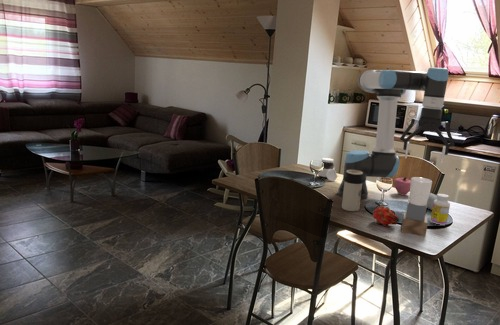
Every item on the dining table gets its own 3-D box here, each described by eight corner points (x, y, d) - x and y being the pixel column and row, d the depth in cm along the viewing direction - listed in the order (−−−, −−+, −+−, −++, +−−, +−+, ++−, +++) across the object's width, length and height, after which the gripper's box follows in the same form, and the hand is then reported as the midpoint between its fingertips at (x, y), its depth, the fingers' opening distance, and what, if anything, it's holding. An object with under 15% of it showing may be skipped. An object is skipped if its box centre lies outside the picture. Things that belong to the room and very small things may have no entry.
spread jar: (323, 175, 256) (325, 156, 254) (340, 179, 250) (342, 160, 248) (314, 178, 247) (316, 159, 244) (332, 182, 240) (334, 163, 238)
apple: (414, 195, 224) (417, 177, 222) (404, 197, 219) (407, 179, 217) (399, 191, 231) (401, 173, 229) (389, 192, 227) (391, 175, 224)
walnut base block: (401, 232, 169) (403, 218, 168) (401, 225, 178) (403, 212, 176) (425, 237, 166) (427, 222, 165) (424, 229, 175) (426, 215, 173)
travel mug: (338, 208, 195) (342, 170, 191) (347, 205, 200) (351, 168, 196) (353, 213, 189) (357, 174, 185) (362, 209, 195) (366, 172, 191)
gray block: (405, 218, 169) (407, 204, 167) (406, 213, 175) (408, 199, 174) (424, 221, 166) (426, 207, 165) (424, 216, 173) (426, 202, 171)
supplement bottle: (427, 219, 186) (432, 192, 184) (442, 221, 186) (447, 193, 183) (433, 225, 180) (438, 196, 177) (449, 226, 180) (454, 198, 177)
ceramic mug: (433, 213, 196) (435, 197, 194) (420, 207, 203) (423, 192, 202) (450, 212, 200) (453, 197, 198) (437, 207, 207) (440, 192, 205)
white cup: (408, 204, 167) (412, 180, 164) (406, 199, 174) (410, 176, 172) (429, 207, 165) (433, 183, 162) (427, 202, 172) (431, 178, 170)
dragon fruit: (370, 222, 183) (395, 235, 175) (364, 215, 177) (389, 228, 169) (381, 206, 184) (405, 218, 176) (375, 198, 178) (400, 210, 170)
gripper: (398, 105, 165) (390, 157, 170) (468, 111, 157) (458, 166, 162) (399, 104, 172) (391, 154, 177) (466, 110, 163) (456, 162, 168)
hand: (423, 160), depth 169 cm, fingers open, 13 cm apart
